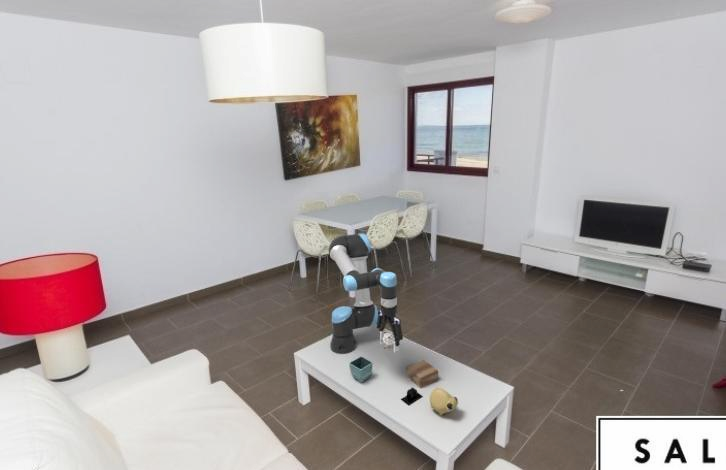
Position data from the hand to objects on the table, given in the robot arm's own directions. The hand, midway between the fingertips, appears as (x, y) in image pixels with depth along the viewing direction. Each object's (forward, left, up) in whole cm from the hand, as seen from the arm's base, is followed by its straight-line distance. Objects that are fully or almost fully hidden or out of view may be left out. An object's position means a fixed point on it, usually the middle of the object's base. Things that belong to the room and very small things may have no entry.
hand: (389, 346), depth 185 cm
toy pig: (+32, +3, -19) cm, 37 cm away
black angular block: (+17, -1, -19) cm, 26 cm away
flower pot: (-10, -10, -19) cm, 24 cm away
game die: (0, 0, -1) cm, 1 cm away
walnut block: (+10, +13, -19) cm, 25 cm away
